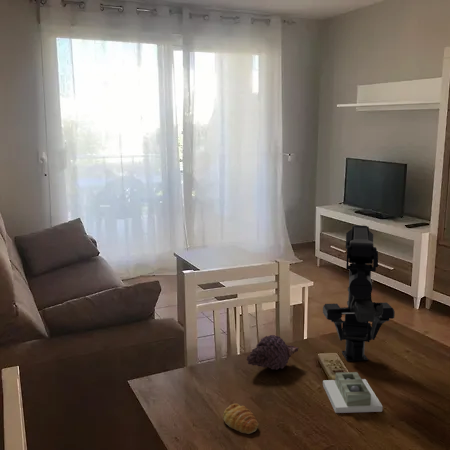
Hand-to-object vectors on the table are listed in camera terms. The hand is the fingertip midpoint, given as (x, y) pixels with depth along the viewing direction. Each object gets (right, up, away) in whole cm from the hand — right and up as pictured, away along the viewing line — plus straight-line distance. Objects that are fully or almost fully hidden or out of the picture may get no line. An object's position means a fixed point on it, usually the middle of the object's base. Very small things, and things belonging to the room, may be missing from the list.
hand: (356, 339), depth 146 cm
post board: (-4, -14, -8) cm, 16 cm away
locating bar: (-3, -12, -8) cm, 15 cm away
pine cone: (-23, -11, +9) cm, 27 cm away
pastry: (-33, -17, -19) cm, 42 cm away
